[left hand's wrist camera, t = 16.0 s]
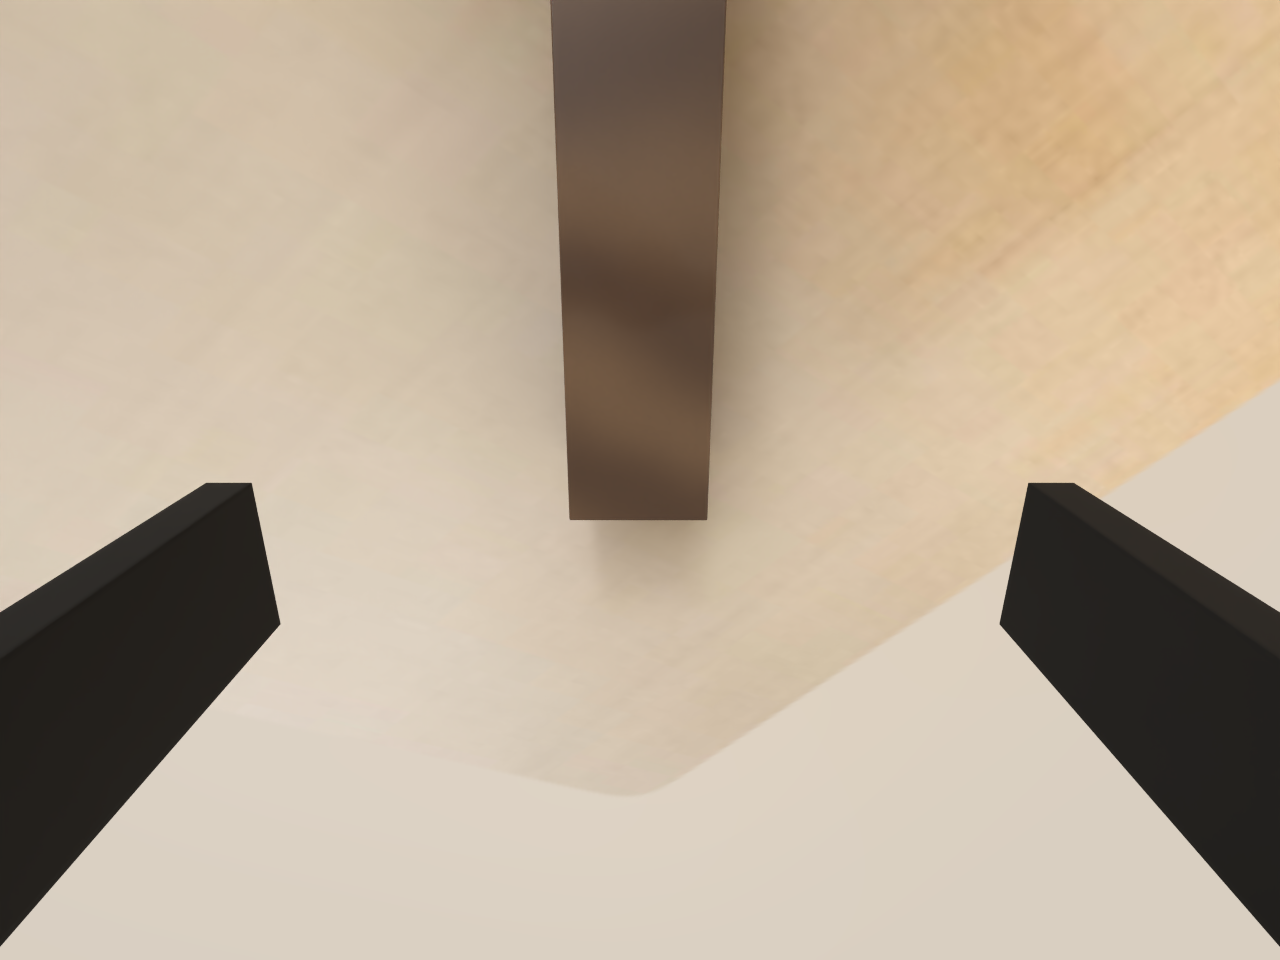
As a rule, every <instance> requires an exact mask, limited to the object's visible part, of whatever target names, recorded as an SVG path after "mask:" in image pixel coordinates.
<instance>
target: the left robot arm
mask: <svg viewBox="0 0 1280 960" xmlns="http://www.w3.org/2000/svg"><path fill="white" fill-rule="evenodd" d="M279 625H280V619H279V614H278V610H277V605H276V600H275V595H274V590H273V585H272V580H271V575H270V571H269V566H268V561H267V556H266V551H265V546H264V541H263V536H262V531H261V527H260V522H259V517H258V512H257V507H256V502H255V497H254V492H253V487H252V483H205V484H204V485H202V486H201V487H199V488H197V489H196V490H194V491H193V492H191V493H189V494H188V495H186V496H185V497H183V498H182V499H180V500H178V501H177V502H175V503H174V504H172V505H170V506H169V507H167V508H166V509H164V510H162V511H161V512H159V513H158V514H156V515H154V516H153V517H151V518H150V519H148V520H147V521H145V522H143V523H142V524H140V525H139V526H137V527H135V528H134V529H132V530H131V531H129V532H127V533H126V534H124V535H123V536H121V537H119V538H118V539H116V540H115V541H113V542H111V543H110V544H108V545H107V546H105V547H104V548H102V549H100V550H99V551H97V552H96V553H94V554H92V555H91V556H89V557H88V558H86V559H84V560H83V561H81V562H80V563H78V564H76V565H75V566H73V567H72V568H70V569H69V570H67V571H65V572H64V573H62V574H61V575H59V576H57V577H56V578H54V579H53V580H51V581H49V582H48V583H46V584H45V585H43V586H41V587H40V588H38V589H37V590H35V591H34V592H32V593H30V594H29V595H27V596H26V597H24V598H22V599H21V600H19V601H18V602H16V603H14V604H13V605H11V606H10V607H8V608H6V609H5V610H3V611H2V612H0V946H1V945H2V944H3V943H4V942H5V940H6V939H7V938H8V937H9V936H10V935H11V934H12V932H13V931H14V930H15V929H16V928H17V927H18V925H19V924H20V923H21V922H22V921H23V920H24V919H25V917H26V916H27V915H28V914H29V913H30V912H31V911H32V909H33V908H34V907H35V906H36V905H37V904H38V902H39V901H40V900H41V899H42V898H43V897H44V896H45V894H46V893H47V892H48V891H49V890H50V889H51V888H52V886H53V885H54V884H55V883H56V882H57V881H58V879H59V878H60V877H61V876H62V875H63V874H64V873H65V871H66V870H67V869H68V868H69V867H70V866H71V864H72V863H73V862H74V861H75V860H76V859H77V858H78V856H79V855H80V854H81V853H82V852H83V851H84V850H85V848H86V847H87V846H88V845H89V844H90V843H91V842H92V840H93V839H94V838H95V837H96V836H97V835H98V833H99V832H100V831H101V830H102V829H103V828H104V826H105V825H106V824H107V823H108V822H109V821H110V820H111V819H112V817H113V816H114V815H115V814H116V813H117V812H118V810H119V809H120V808H121V807H122V806H123V805H124V803H125V802H126V801H127V800H128V799H129V798H130V797H131V795H132V794H133V793H134V792H135V791H136V790H137V789H138V787H139V786H140V785H141V784H142V783H143V782H144V781H145V779H146V778H147V777H148V776H149V775H150V774H151V772H152V771H153V770H154V769H155V768H156V767H157V766H158V764H159V763H160V762H161V761H162V760H163V759H164V757H165V756H166V755H167V754H168V753H169V752H170V751H171V749H172V748H173V747H174V746H175V745H176V744H177V743H178V741H179V740H180V739H181V738H182V737H183V736H184V735H185V733H186V732H187V731H188V730H189V729H190V728H191V726H192V725H193V724H194V723H195V722H196V721H197V720H198V718H199V717H200V716H201V715H202V714H203V713H204V712H205V710H206V709H207V708H208V707H209V706H210V705H211V703H212V702H213V701H214V700H215V699H216V698H217V697H218V695H219V694H220V693H221V692H222V691H223V690H224V688H225V687H226V686H227V685H228V684H229V683H230V682H231V680H232V679H233V678H234V677H235V676H236V675H237V674H238V672H239V671H240V670H241V669H242V668H243V667H244V665H245V664H246V663H247V662H248V661H249V660H250V659H251V657H252V656H253V655H254V654H255V653H256V652H257V651H258V649H259V648H260V647H261V646H262V645H263V644H264V642H265V641H266V640H267V639H268V638H269V637H270V636H271V634H272V633H273V632H274V631H275V630H276V629H277V628H278V626H279ZM1000 625H1001V626H1002V628H1003V629H1004V630H1005V631H1006V632H1007V633H1008V634H1009V636H1010V637H1011V638H1012V639H1013V640H1014V641H1015V642H1016V644H1017V645H1018V646H1019V647H1020V648H1021V649H1022V651H1023V652H1024V653H1025V654H1026V655H1027V656H1028V657H1029V659H1030V660H1031V661H1032V662H1033V663H1034V664H1035V665H1036V667H1037V668H1038V669H1039V670H1040V671H1041V672H1042V674H1043V675H1044V676H1045V677H1046V678H1047V679H1048V680H1049V682H1050V683H1051V684H1052V685H1053V686H1054V687H1055V688H1056V690H1057V691H1058V692H1059V693H1060V694H1061V695H1062V697H1063V698H1064V699H1065V700H1066V701H1067V702H1068V703H1069V705H1070V706H1071V707H1072V708H1073V709H1074V710H1075V711H1076V713H1077V714H1078V715H1079V716H1080V717H1081V718H1082V720H1083V721H1084V722H1085V723H1086V724H1087V725H1088V726H1089V728H1090V729H1091V730H1092V731H1093V732H1094V733H1095V734H1096V736H1097V737H1098V738H1099V739H1100V740H1101V741H1102V743H1103V744H1104V745H1105V746H1106V747H1107V748H1108V749H1109V751H1110V752H1111V753H1112V754H1113V755H1114V756H1115V758H1116V759H1117V760H1118V761H1119V762H1120V763H1121V764H1122V766H1123V767H1124V768H1125V769H1126V770H1127V771H1128V772H1129V774H1130V775H1131V776H1132V777H1133V778H1134V779H1135V781H1136V782H1137V783H1138V784H1139V785H1140V786H1141V787H1142V789H1143V790H1144V791H1145V792H1146V793H1147V794H1148V795H1149V797H1150V798H1151V799H1152V800H1153V801H1154V802H1155V804H1156V805H1157V806H1158V807H1159V808H1160V809H1161V810H1162V812H1163V813H1164V814H1165V815H1166V816H1167V817H1168V818H1169V820H1170V821H1171V822H1172V823H1173V824H1174V825H1175V826H1176V828H1177V829H1178V830H1179V831H1180V832H1181V833H1182V835H1183V836H1184V837H1185V838H1186V839H1187V840H1188V841H1189V843H1190V844H1191V845H1192V846H1193V847H1194V848H1195V850H1196V851H1197V852H1198V853H1199V854H1200V855H1201V856H1202V858H1203V859H1204V860H1205V861H1206V862H1207V863H1208V864H1209V866H1210V867H1211V868H1212V869H1213V870H1214V871H1215V873H1216V874H1217V875H1218V876H1219V877H1220V878H1221V879H1222V881H1223V882H1224V883H1225V884H1226V885H1227V886H1228V888H1229V889H1230V890H1231V891H1232V892H1233V893H1234V894H1235V896H1236V897H1237V898H1238V899H1239V900H1240V901H1241V903H1242V904H1243V905H1244V906H1245V907H1246V908H1247V909H1248V911H1249V912H1250V913H1251V914H1252V915H1253V916H1254V917H1255V919H1256V920H1257V921H1258V922H1259V923H1260V924H1261V926H1262V927H1263V928H1264V929H1265V930H1266V931H1267V932H1268V934H1269V935H1270V936H1271V937H1272V938H1273V939H1274V940H1275V942H1276V943H1277V944H1278V945H1279V946H1280V612H1278V611H1277V610H1275V609H1274V608H1272V607H1270V606H1269V605H1267V604H1266V603H1264V602H1262V601H1261V600H1259V599H1258V598H1256V597H1254V596H1253V595H1251V594H1250V593H1248V592H1246V591H1245V590H1243V589H1242V588H1240V587H1238V586H1237V585H1235V584H1234V583H1232V582H1231V581H1229V580H1227V579H1226V578H1224V577H1223V576H1221V575H1219V574H1218V573H1216V572H1215V571H1213V570H1211V569H1210V568H1208V567H1207V566H1205V565H1204V564H1202V563H1200V562H1199V561H1197V560H1196V559H1194V558H1192V557H1191V556H1189V555H1187V554H1186V553H1184V552H1183V551H1181V550H1180V549H1178V548H1176V547H1175V546H1173V545H1172V544H1170V543H1169V542H1167V541H1165V540H1164V539H1162V538H1161V537H1159V536H1157V535H1156V534H1154V533H1153V532H1151V531H1149V530H1148V529H1146V528H1145V527H1143V526H1141V525H1140V524H1138V523H1137V522H1135V521H1133V520H1132V519H1130V518H1129V517H1127V516H1125V515H1124V514H1122V513H1121V512H1119V511H1118V510H1116V509H1114V508H1113V507H1111V506H1110V505H1108V504H1106V503H1105V502H1103V501H1102V500H1100V499H1098V498H1097V497H1095V496H1094V495H1092V494H1091V493H1089V492H1087V491H1086V490H1084V489H1083V488H1081V487H1079V486H1078V485H1076V484H1075V483H1028V487H1027V492H1026V497H1025V502H1024V507H1023V512H1022V517H1021V522H1020V527H1019V531H1018V536H1017V541H1016V546H1015V551H1014V556H1013V561H1012V566H1011V571H1010V575H1009V580H1008V585H1007V590H1006V595H1005V600H1004V605H1003V610H1002V615H1001V619H1000Z"/></svg>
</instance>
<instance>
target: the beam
mask: <svg viewBox="0 0 1280 960" xmlns="http://www.w3.org/2000/svg"><path fill="white" fill-rule="evenodd" d="M725 24H726V0H551V27H552V54H553V81H554V108H555V136H556V163H557V190H558V217H559V245H560V272H561V299H562V326H563V354H564V381H565V408H566V435H567V463H568V490H569V517H570V520H707V510H708V483H709V456H710V429H711V402H712V375H713V348H714V321H715V294H716V267H717V240H718V213H719V186H720V159H721V132H722V105H723V78H724V51H725Z"/></svg>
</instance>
